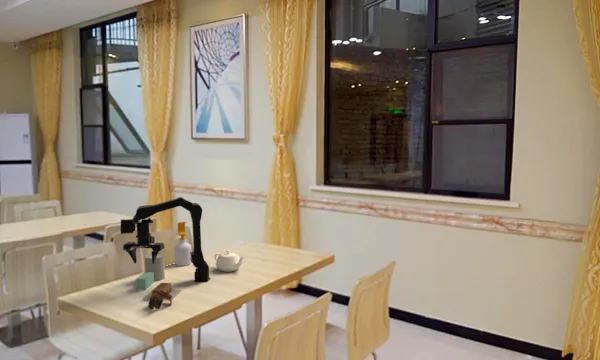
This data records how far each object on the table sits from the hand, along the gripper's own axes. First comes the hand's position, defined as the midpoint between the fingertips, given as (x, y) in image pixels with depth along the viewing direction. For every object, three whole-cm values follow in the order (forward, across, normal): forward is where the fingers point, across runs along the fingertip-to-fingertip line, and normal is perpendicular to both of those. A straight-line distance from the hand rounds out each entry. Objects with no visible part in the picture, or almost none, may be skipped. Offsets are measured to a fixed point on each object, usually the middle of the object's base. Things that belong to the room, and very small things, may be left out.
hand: (144, 263), depth 235 cm
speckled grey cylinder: (+12, 0, -12) cm, 17 cm away
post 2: (+11, -13, +8) cm, 19 cm away
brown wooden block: (+11, -13, +14) cm, 22 cm away
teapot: (+12, -34, -32) cm, 48 cm away
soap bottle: (+12, -5, -40) cm, 42 cm away
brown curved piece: (+12, -18, +25) cm, 33 cm away
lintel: (+12, 0, 0) cm, 12 cm away
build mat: (+12, -13, +11) cm, 21 cm away
